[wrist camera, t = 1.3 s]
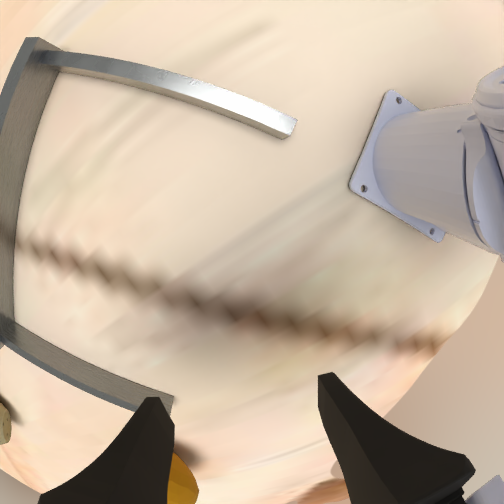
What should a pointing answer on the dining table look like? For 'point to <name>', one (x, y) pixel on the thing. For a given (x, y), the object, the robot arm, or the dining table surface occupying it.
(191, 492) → the apple
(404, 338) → the dining table surface
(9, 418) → the bowl
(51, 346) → the frame
